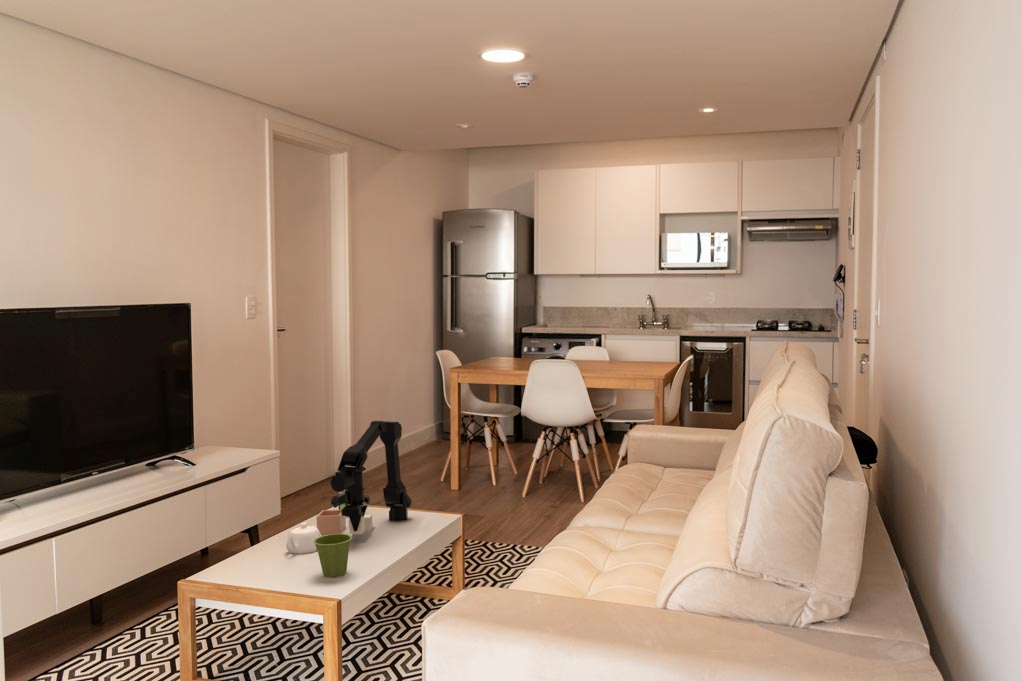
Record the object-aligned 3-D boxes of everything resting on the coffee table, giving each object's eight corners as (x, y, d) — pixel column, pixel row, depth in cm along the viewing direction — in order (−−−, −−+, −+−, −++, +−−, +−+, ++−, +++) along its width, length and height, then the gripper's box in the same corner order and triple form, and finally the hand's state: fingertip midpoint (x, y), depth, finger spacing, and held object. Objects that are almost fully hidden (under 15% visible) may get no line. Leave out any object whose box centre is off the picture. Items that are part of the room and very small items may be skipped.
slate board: (376, 529, 299) (376, 526, 299) (365, 545, 280) (365, 542, 280) (357, 530, 300) (357, 527, 300) (345, 546, 280) (345, 542, 280)
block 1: (364, 530, 285) (364, 516, 285) (362, 533, 281) (361, 519, 280) (352, 530, 285) (351, 516, 285) (349, 534, 281) (348, 520, 281)
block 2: (372, 527, 298) (372, 514, 298) (370, 531, 294) (369, 517, 294) (360, 527, 299) (360, 514, 298) (358, 531, 294) (357, 517, 294)
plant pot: (337, 565, 260) (335, 531, 259) (361, 572, 252) (359, 537, 252) (307, 575, 251) (305, 540, 250) (331, 583, 243) (329, 546, 242)
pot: (346, 530, 300) (345, 509, 299) (340, 537, 291) (339, 515, 291) (323, 531, 300) (322, 510, 300) (317, 538, 291) (316, 516, 291)
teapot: (307, 562, 264) (306, 532, 263) (273, 561, 266) (272, 531, 266) (333, 544, 283) (332, 516, 283) (301, 543, 286) (300, 515, 285)
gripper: (338, 480, 292) (340, 522, 292) (325, 492, 273) (327, 537, 274) (369, 479, 291) (370, 521, 292) (358, 491, 273) (360, 536, 274)
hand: (357, 529), depth 283 cm, fingers closed on block 1, 4 cm apart
